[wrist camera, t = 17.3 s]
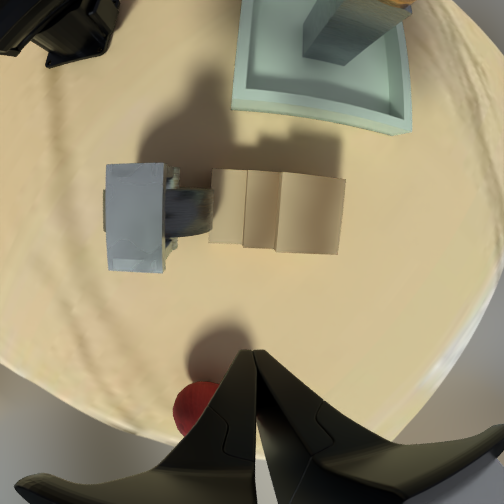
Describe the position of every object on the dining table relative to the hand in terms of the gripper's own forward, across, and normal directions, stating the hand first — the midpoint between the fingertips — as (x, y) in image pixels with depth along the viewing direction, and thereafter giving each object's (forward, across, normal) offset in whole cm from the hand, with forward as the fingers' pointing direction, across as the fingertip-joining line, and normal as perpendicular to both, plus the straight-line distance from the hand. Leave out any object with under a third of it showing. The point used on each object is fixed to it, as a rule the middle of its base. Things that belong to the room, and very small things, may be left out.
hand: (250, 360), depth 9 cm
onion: (+13, +2, +13) cm, 19 cm away
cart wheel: (+13, +5, -4) cm, 14 cm away
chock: (+13, -2, -4) cm, 14 cm away
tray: (+13, -6, -18) cm, 23 cm away
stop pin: (+12, -6, -18) cm, 22 cm away
